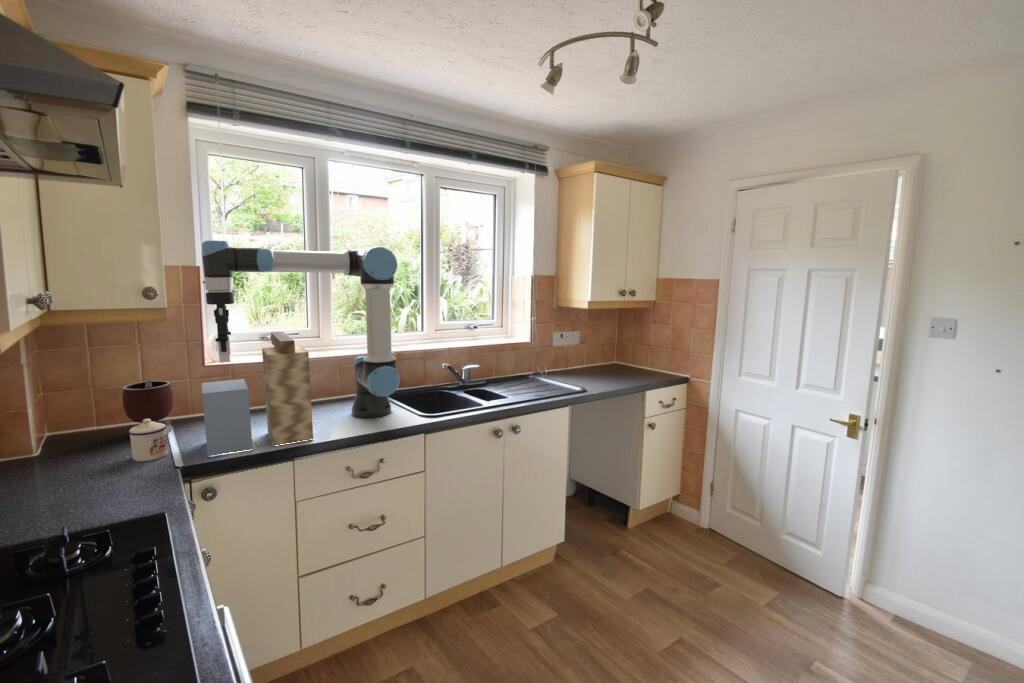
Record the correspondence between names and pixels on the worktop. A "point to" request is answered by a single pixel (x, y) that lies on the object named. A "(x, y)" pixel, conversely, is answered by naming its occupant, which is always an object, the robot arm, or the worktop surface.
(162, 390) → the mate gourd
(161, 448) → the teacup with lid
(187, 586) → the worktop surface
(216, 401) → the slate base
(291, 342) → the walnut bar
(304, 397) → the oak stand
